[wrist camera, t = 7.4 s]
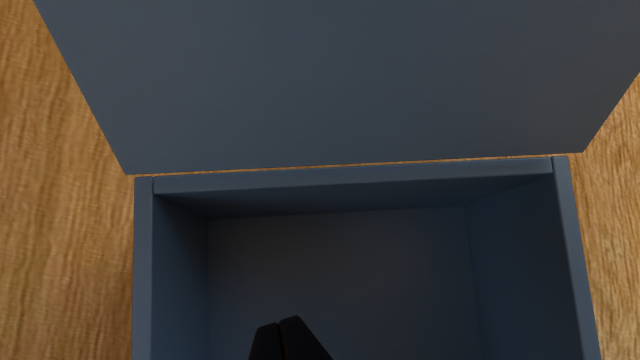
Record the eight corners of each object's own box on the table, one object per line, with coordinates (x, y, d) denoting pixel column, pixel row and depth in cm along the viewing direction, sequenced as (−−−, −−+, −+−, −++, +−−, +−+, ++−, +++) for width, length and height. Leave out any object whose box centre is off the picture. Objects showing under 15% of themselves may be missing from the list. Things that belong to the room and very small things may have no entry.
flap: (124, 175, 11) (127, 165, 11) (583, 153, 12) (577, 143, 12) (-28, -111, 6) (-18, -120, 6) (779, -126, 7) (763, -133, 7)
